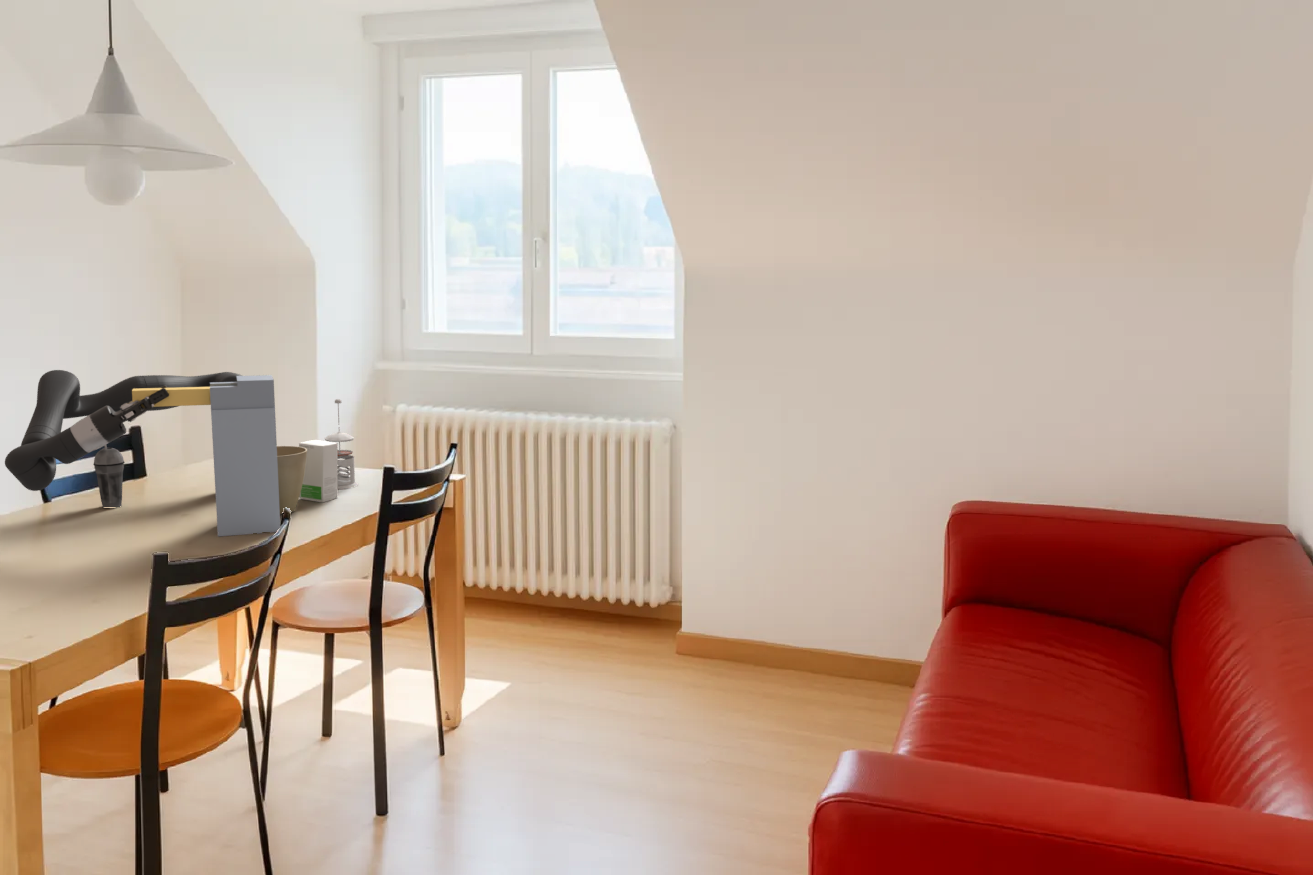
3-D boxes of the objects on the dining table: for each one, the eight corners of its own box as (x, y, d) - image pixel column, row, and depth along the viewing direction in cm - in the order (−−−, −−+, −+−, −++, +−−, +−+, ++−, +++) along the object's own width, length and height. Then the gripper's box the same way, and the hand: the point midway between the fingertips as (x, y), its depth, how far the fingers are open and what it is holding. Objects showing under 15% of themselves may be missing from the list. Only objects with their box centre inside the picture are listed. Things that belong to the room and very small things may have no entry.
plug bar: (132, 407, 252) (131, 390, 251) (134, 404, 255) (133, 388, 255) (245, 403, 260) (244, 387, 260) (244, 401, 264) (244, 385, 263)
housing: (217, 536, 260) (209, 382, 254) (217, 525, 270) (209, 376, 264) (280, 531, 265) (273, 380, 259) (278, 520, 275) (271, 374, 269)
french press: (353, 489, 311) (350, 401, 307) (312, 488, 311) (308, 400, 307) (362, 482, 321) (360, 396, 317) (323, 481, 321) (320, 396, 317)
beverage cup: (134, 504, 289) (128, 429, 286) (112, 511, 282) (106, 434, 279) (112, 502, 291) (106, 427, 288) (89, 508, 285) (84, 432, 281)
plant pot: (292, 502, 295) (290, 443, 292) (319, 512, 284) (317, 451, 282) (238, 510, 285) (235, 450, 282) (264, 521, 274) (261, 458, 271)
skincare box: (298, 499, 298) (296, 442, 295) (315, 494, 304) (312, 439, 301) (324, 502, 295) (322, 445, 292) (340, 497, 301) (338, 441, 298)
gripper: (84, 420, 244) (156, 380, 248) (91, 411, 257) (159, 372, 261) (105, 448, 246) (176, 408, 250) (111, 437, 259) (178, 399, 263)
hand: (167, 390), depth 256 cm, fingers closed on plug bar, 3 cm apart
